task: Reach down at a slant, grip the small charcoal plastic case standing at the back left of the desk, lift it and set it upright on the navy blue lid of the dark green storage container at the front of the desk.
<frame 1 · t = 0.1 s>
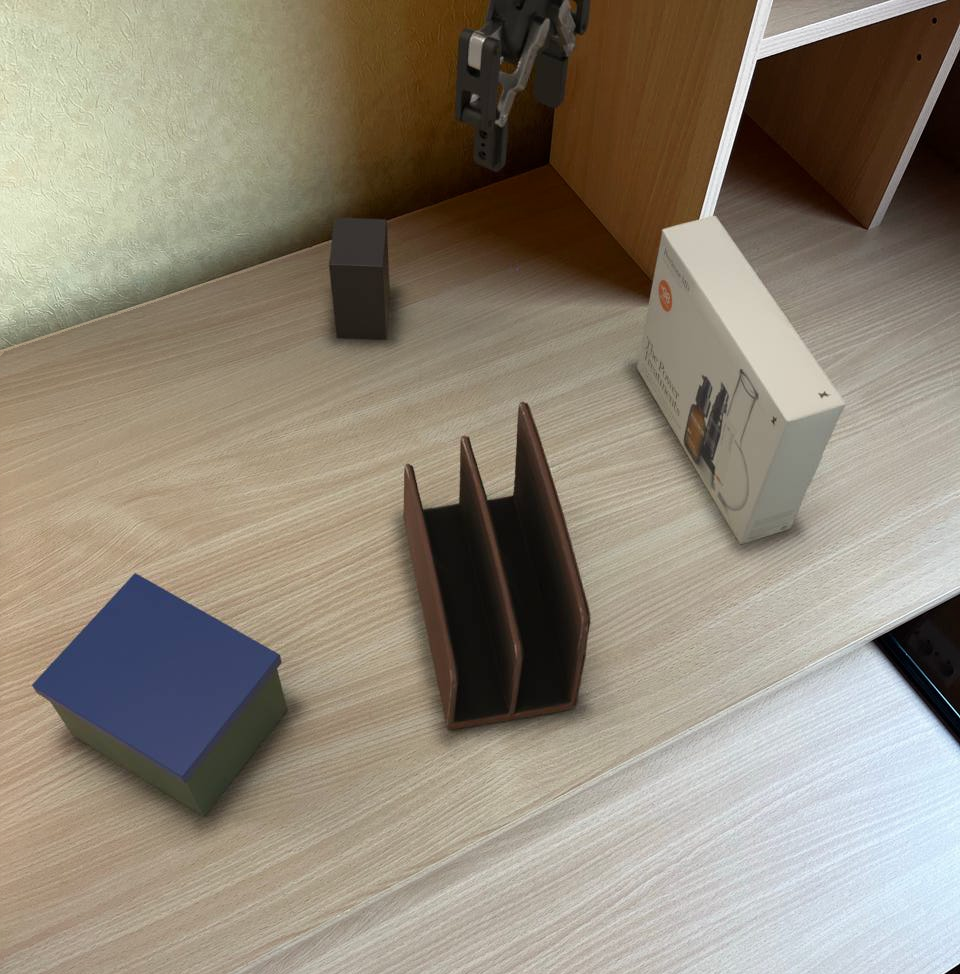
hand: (519, 133, 79), 24 cm above the table, tool pointing down, fingers open, 8 cm apart
letter holder: (485, 611, 87), on the table
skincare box: (706, 448, 96), on the table
container: (181, 722, 81), on the table
case: (363, 315, 102), on the table
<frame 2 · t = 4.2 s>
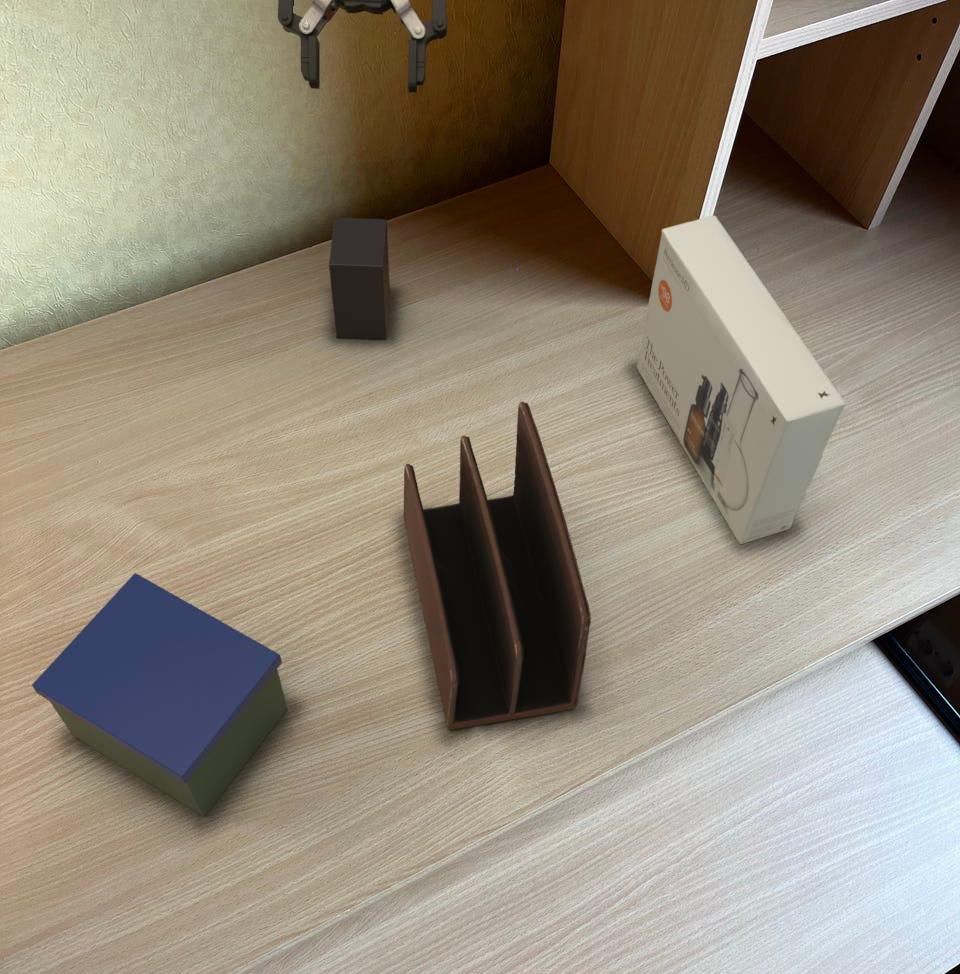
hand: (363, 88, 95), 15 cm above the table, tool tilted 45°, fingers open, 8 cm apart
nothing on the table moved.
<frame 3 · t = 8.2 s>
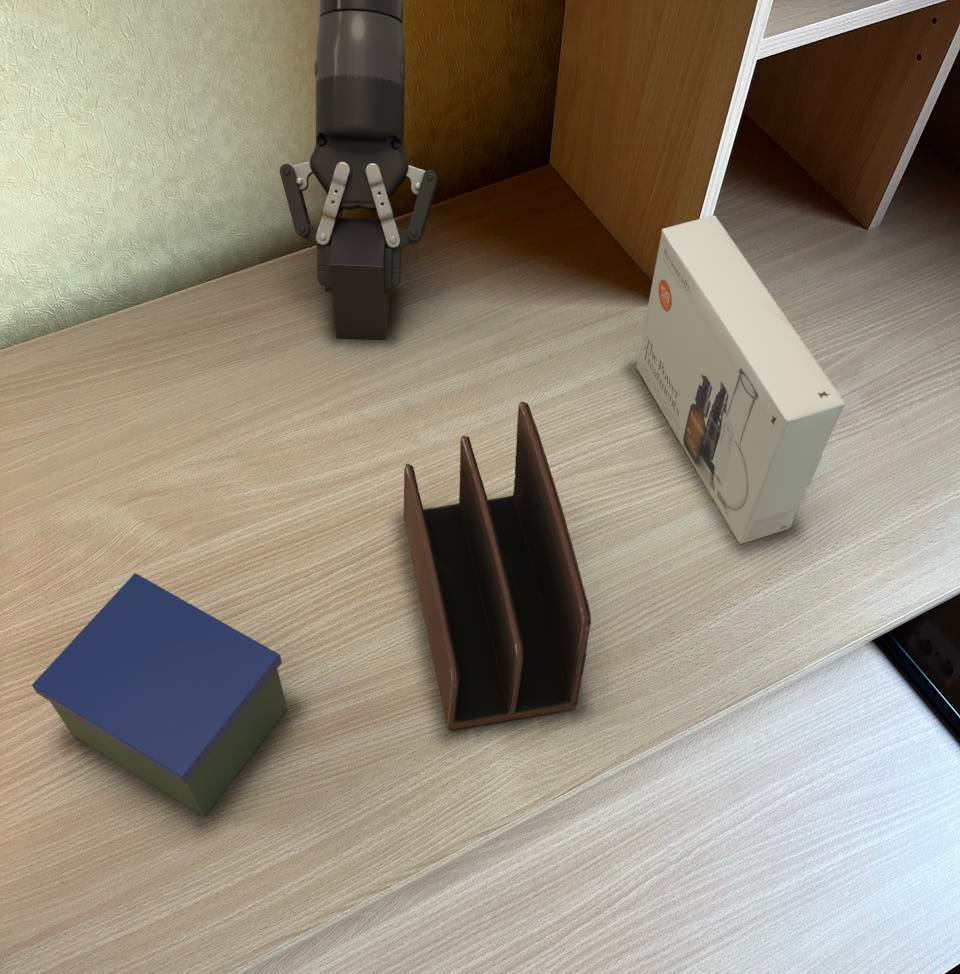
hand: (358, 291, 97), 5 cm above the table, tool tilted 45°, fingers closed on case, 4 cm apart
case: (363, 315, 102), on the table, touching gripper
everything else where it was.
when the fingers open (13 cm above the table, at t = 18.9 s): case stays where it is, resting on container.
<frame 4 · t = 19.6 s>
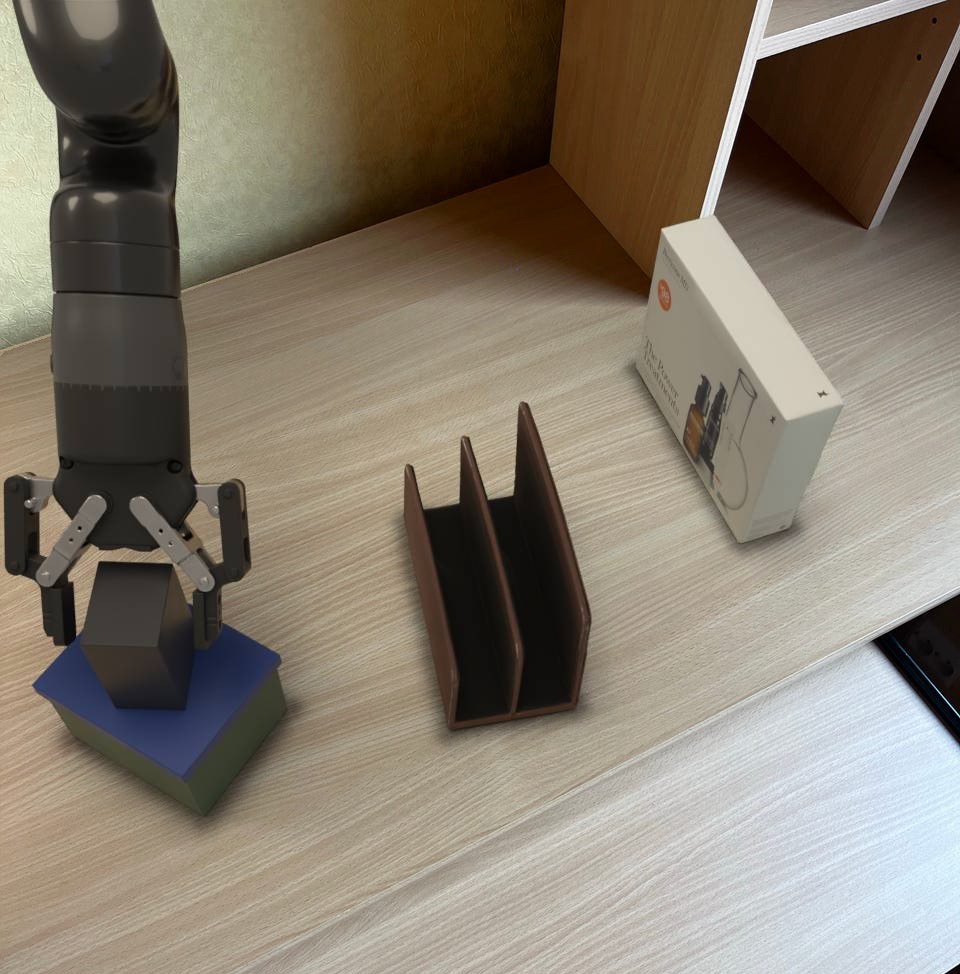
hand: (134, 645, 68), 14 cm above the table, tool tilted 45°, fingers open, 8 cm apart
case: (157, 669, 74), point 8 cm above the table, touching container
everything else where it was.
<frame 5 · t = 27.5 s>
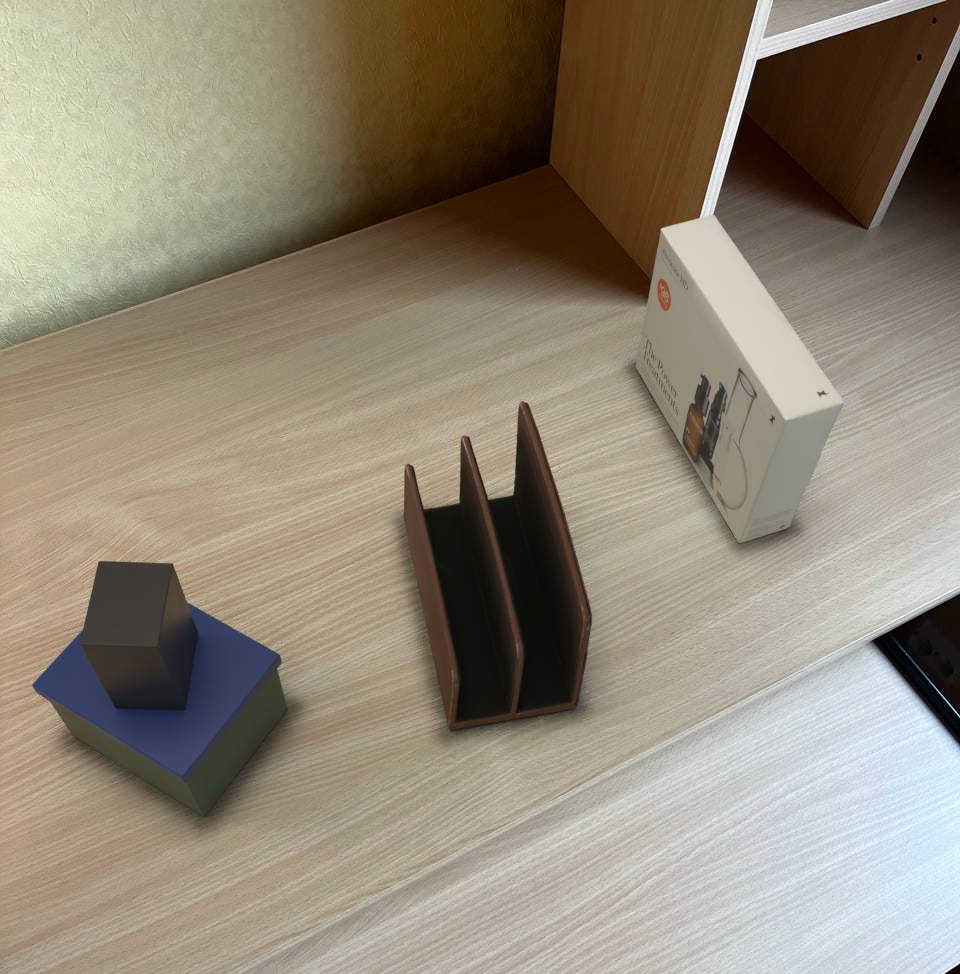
nothing on the table moved.
at the end: case inside the target area on the container (0.0 cm from its centre), point 8.2 cm above the container's base; case tilted 0°; the gripper is holding nothing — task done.
